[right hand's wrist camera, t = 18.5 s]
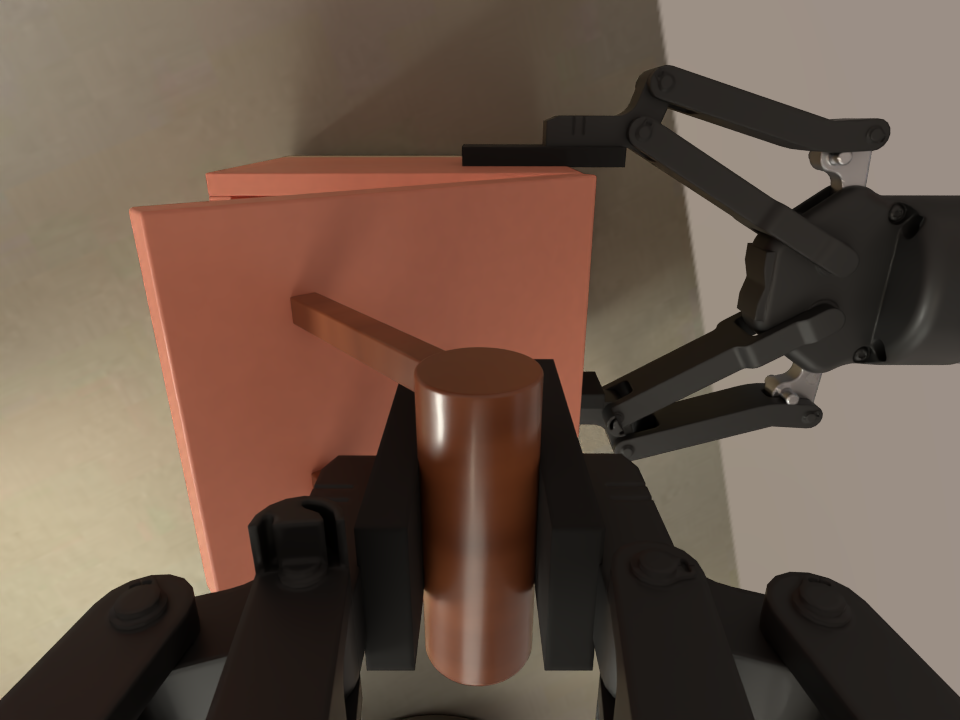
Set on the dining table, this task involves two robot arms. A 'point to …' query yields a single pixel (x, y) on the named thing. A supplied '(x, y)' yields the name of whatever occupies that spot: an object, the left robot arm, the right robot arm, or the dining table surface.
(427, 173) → the chest
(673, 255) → the dining table surface
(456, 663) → the lid
